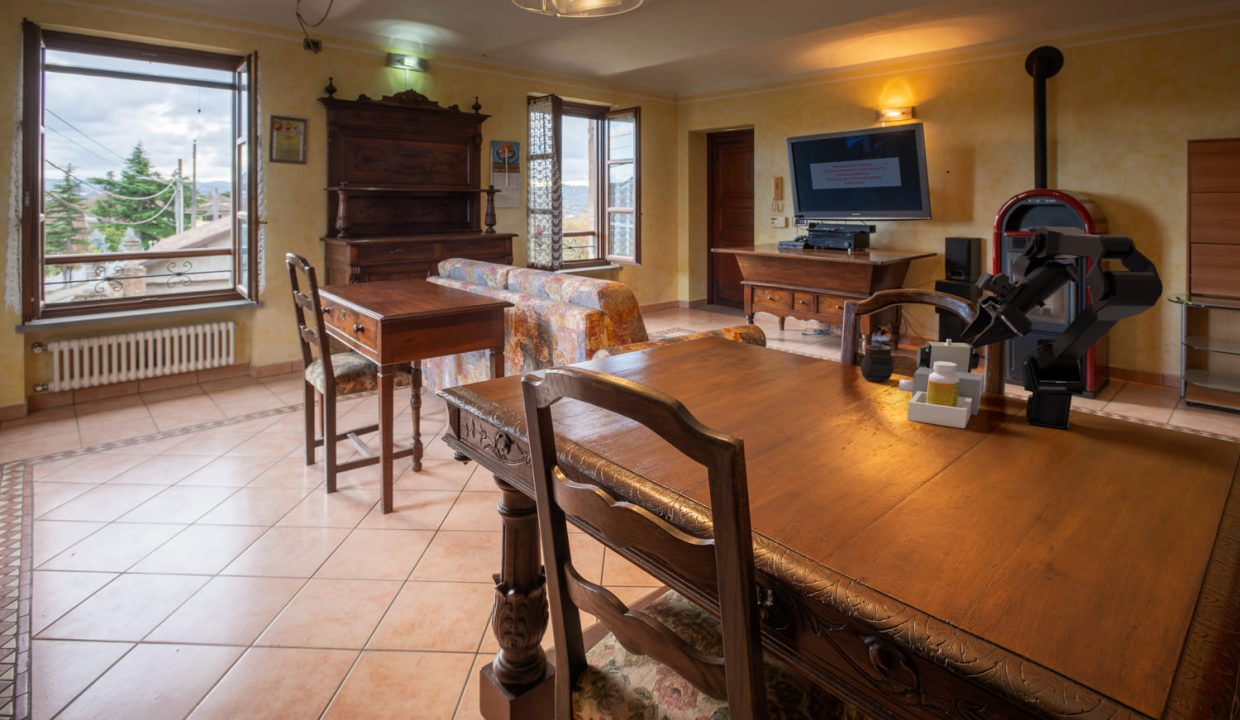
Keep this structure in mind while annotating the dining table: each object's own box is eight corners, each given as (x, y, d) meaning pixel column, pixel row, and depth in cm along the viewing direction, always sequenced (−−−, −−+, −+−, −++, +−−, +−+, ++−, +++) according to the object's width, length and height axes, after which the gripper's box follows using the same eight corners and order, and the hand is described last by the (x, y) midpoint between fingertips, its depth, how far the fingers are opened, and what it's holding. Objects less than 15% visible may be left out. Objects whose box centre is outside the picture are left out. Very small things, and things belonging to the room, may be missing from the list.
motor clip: (979, 408, 142) (983, 374, 141) (970, 429, 128) (974, 392, 127) (901, 397, 150) (904, 365, 148) (885, 416, 136) (888, 381, 135)
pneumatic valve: (975, 397, 150) (981, 342, 148) (917, 394, 153) (922, 340, 150) (968, 391, 156) (974, 337, 153) (912, 387, 158) (917, 335, 156)
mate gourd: (887, 376, 169) (890, 336, 167) (897, 384, 161) (900, 341, 159) (856, 376, 169) (859, 335, 167) (865, 383, 162) (868, 341, 160)
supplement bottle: (956, 417, 132) (962, 367, 130) (925, 414, 134) (930, 365, 132) (954, 410, 137) (960, 361, 135) (924, 407, 139) (929, 359, 137)
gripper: (994, 254, 143) (931, 306, 148) (1021, 261, 126) (948, 319, 131) (1032, 294, 143) (967, 344, 148) (1064, 306, 125) (989, 363, 130)
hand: (967, 342), depth 139 cm, fingers open, 9 cm apart
